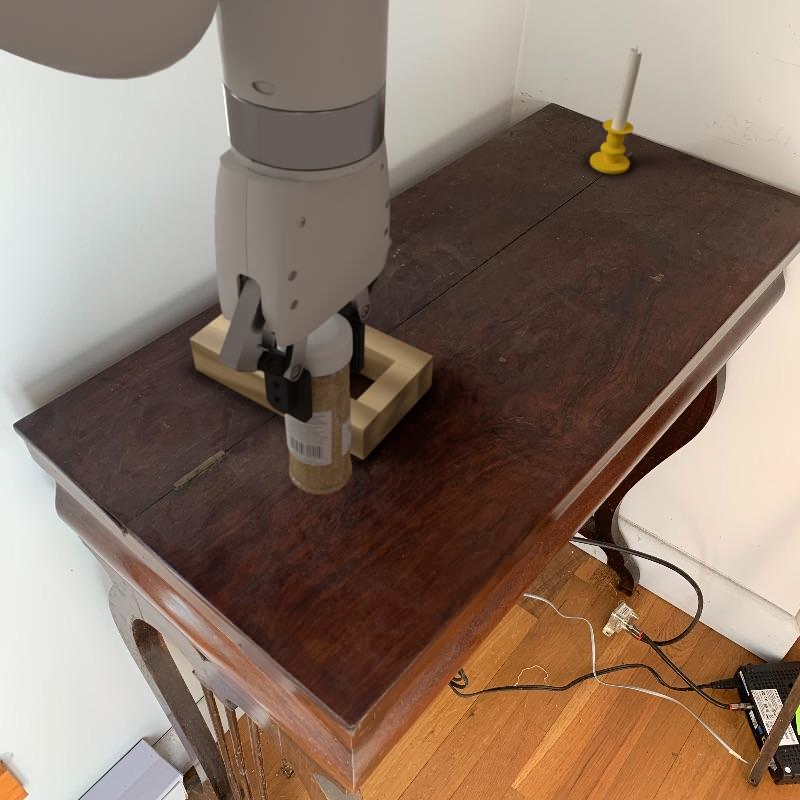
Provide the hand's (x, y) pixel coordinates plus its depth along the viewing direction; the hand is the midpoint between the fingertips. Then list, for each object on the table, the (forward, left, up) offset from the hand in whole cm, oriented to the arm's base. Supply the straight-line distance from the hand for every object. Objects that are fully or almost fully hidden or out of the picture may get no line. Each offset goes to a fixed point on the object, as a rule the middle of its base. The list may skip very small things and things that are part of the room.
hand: (316, 384), depth 51 cm
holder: (+14, +13, -18) cm, 26 cm away
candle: (+69, +6, -18) cm, 72 cm away
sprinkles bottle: (0, 0, -9) cm, 9 cm away
